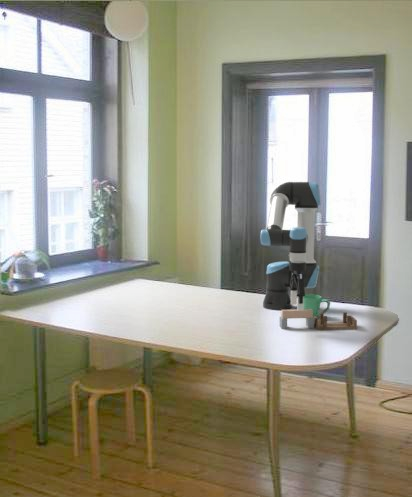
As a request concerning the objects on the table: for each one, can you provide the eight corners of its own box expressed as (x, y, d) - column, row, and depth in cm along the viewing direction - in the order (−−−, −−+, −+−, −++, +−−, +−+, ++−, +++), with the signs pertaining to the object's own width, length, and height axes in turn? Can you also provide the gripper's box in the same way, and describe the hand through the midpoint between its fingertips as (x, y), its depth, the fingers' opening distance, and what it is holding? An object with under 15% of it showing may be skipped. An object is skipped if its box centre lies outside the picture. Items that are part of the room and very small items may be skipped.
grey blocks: (279, 326, 334) (279, 316, 333) (311, 325, 336) (311, 315, 335) (281, 328, 329) (281, 319, 329) (313, 327, 331) (314, 318, 330)
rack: (313, 325, 336) (313, 312, 335) (351, 324, 337) (351, 311, 336) (318, 330, 327) (318, 317, 326) (356, 329, 328) (357, 316, 328)
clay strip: (281, 317, 333) (281, 309, 332) (310, 316, 334) (311, 309, 333) (282, 318, 330) (282, 311, 329) (312, 317, 331) (312, 310, 330)
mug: (297, 317, 351) (298, 297, 350) (306, 313, 359) (306, 293, 358) (325, 321, 343) (326, 300, 342) (333, 317, 352) (334, 297, 350)
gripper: (284, 258, 340) (283, 302, 343) (295, 265, 315) (294, 313, 318) (299, 257, 341) (298, 301, 343) (312, 265, 316) (311, 312, 319)
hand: (296, 307), depth 331 cm, fingers open, 13 cm apart
